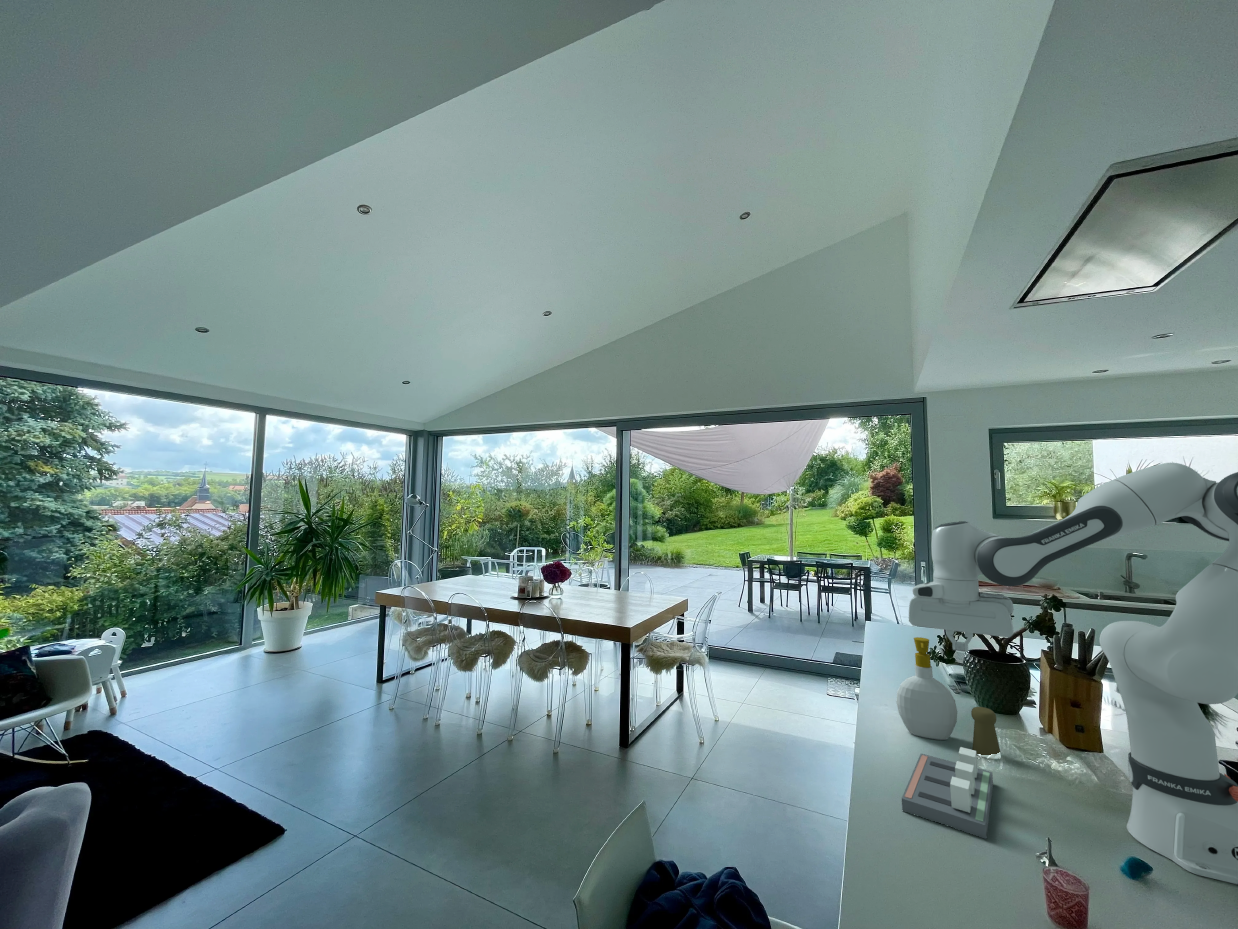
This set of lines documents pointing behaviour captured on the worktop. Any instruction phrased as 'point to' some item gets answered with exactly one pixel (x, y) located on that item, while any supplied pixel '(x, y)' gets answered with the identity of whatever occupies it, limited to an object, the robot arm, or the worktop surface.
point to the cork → (984, 731)
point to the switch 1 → (969, 758)
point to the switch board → (947, 796)
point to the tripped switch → (966, 773)
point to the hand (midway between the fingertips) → (960, 650)
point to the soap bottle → (926, 700)
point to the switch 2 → (960, 794)
